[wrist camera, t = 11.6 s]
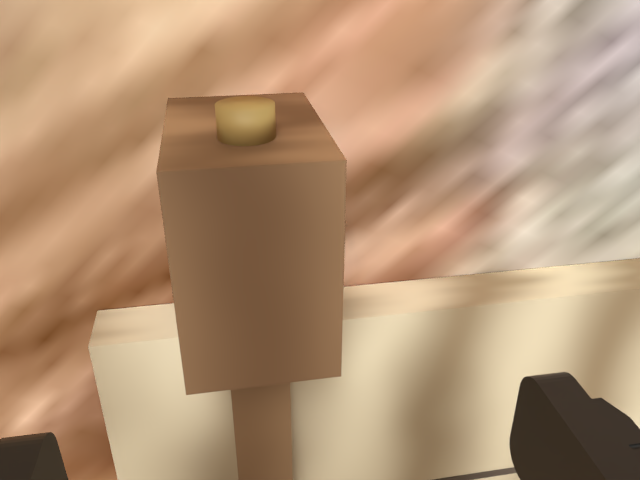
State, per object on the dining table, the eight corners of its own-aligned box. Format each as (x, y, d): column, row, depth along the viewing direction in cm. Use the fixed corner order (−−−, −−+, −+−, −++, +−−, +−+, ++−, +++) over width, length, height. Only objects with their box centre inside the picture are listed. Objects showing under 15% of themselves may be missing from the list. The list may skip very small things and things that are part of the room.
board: (720, 250, 24) (762, 276, 22) (634, 491, 31) (661, 526, 29) (97, 310, 20) (87, 348, 18) (151, 570, 27) (147, 616, 25)
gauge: (302, 65, 18) (347, 123, 13) (307, 466, 26) (335, 605, 20) (164, 70, 17) (151, 134, 12) (212, 480, 25) (216, 627, 20)
